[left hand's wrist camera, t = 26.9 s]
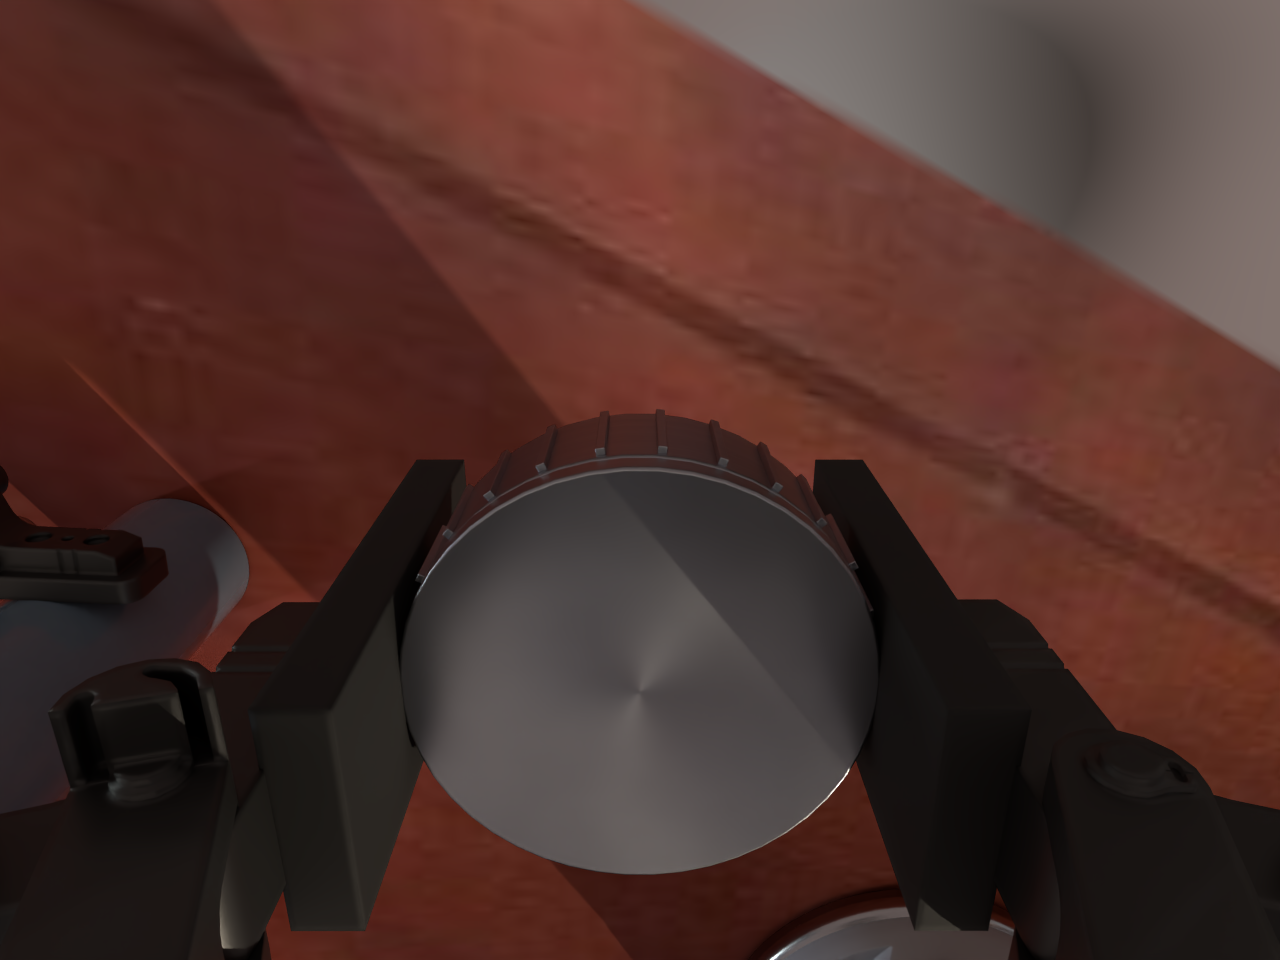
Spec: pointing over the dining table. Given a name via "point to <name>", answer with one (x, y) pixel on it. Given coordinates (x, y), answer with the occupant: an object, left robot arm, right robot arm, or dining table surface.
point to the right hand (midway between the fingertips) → (164, 659)
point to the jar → (108, 637)
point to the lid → (639, 648)
